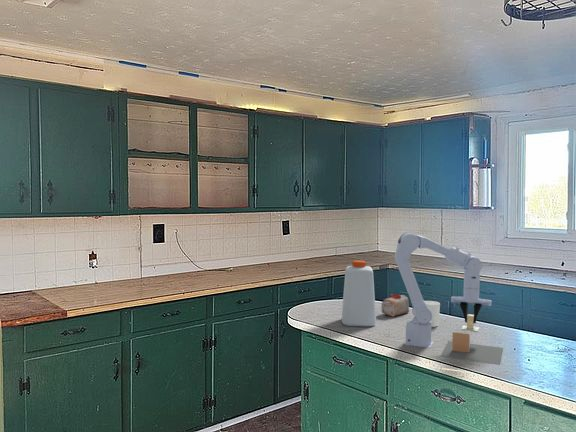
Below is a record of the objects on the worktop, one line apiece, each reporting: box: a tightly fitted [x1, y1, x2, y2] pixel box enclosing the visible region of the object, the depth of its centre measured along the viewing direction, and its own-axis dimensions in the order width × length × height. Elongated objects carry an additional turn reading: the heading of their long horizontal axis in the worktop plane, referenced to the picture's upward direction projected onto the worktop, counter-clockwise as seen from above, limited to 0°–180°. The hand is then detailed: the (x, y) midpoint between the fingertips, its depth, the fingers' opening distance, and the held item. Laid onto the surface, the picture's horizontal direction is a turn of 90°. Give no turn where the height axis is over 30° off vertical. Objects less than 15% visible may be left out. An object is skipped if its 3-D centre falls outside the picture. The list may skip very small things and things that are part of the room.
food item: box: [380, 293, 410, 318], centre depth 245 cm, size 14×8×10 cm, turn 132°
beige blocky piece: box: [460, 313, 480, 333], centre depth 196 cm, size 6×6×6 cm
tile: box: [451, 331, 471, 353], centre depth 189 cm, size 6×1×7 cm, turn 64°
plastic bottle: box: [341, 259, 377, 328], centre depth 229 cm, size 15×15×28 cm
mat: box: [440, 340, 504, 366], centre depth 188 cm, size 20×20×1 cm
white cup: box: [424, 300, 441, 328], centre depth 226 cm, size 8×8×10 cm
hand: (470, 322), depth 196 cm, fingers closed on beige blocky piece, 2 cm apart
